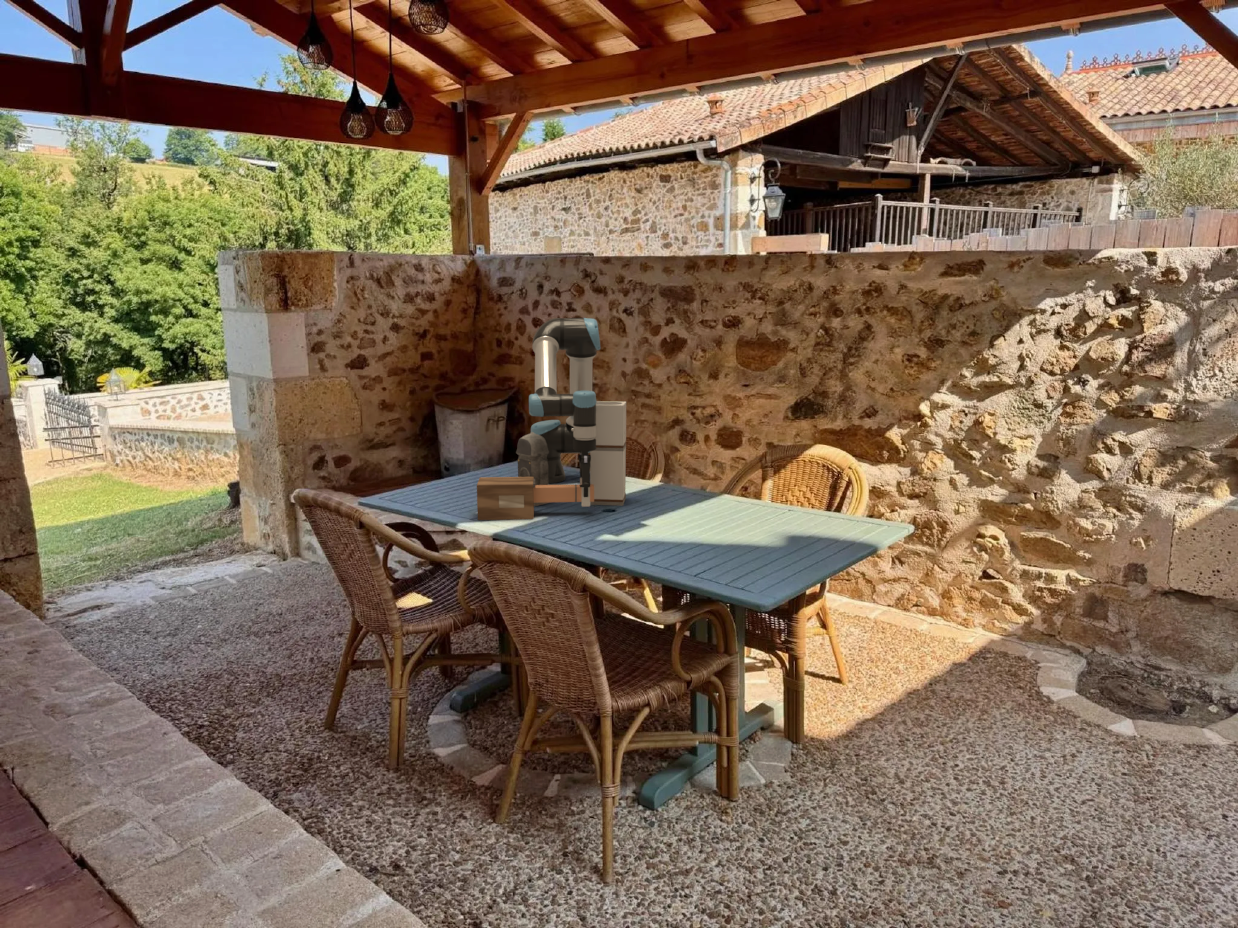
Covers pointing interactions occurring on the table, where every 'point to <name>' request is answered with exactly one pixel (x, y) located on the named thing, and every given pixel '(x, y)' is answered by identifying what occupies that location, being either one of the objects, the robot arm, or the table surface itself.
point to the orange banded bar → (560, 493)
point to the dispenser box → (505, 498)
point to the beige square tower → (609, 454)
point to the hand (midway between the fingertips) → (584, 501)
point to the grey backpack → (533, 459)
